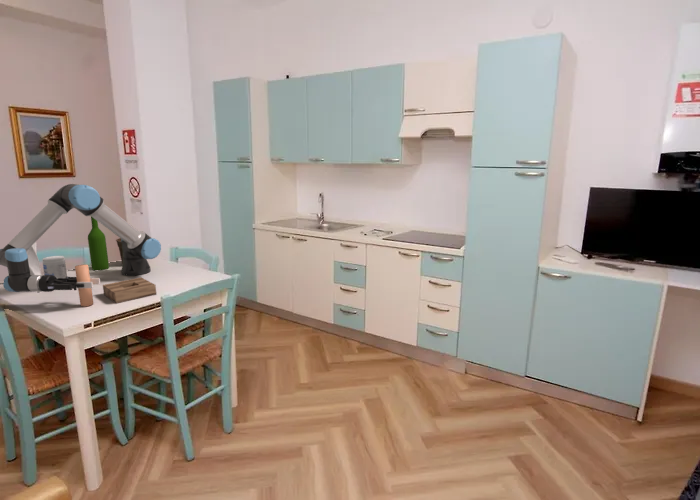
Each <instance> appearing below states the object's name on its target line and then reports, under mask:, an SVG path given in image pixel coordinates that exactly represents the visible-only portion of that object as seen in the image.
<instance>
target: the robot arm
mask: <svg viewBox="0 0 700 500" xmlns="http://www.w3.org/2000/svg"><path fill="white" fill-rule="evenodd" d="M73 209H75V210H76V211H78V212H80V214H81V215H84V216H85V217H91V216H92V217H93V218H94V219H96V220H97V222H98V223H100V224H101V225H102V226H103V227H105V228H106V229H107V230H109V231H110V232H111V233H112V234H114V235H116V236H117V237H118V239H119V238H121V243H122V251H123V259H124V262H123V265H122V267H121V275H123V276H125V277H126V276H129V277H130V276H133V277H134V276H140V275H145V274H148V273H150V272H151V266H150V264H149V262H148V260H154V259H155V258H157V257H158V256H159V255H160V253H161V252H162V251H161V250H162V244H161V243H160V241H159V240H158V239H157V238H153V237H151V236H150V235H149V234H148V233H146V232H145V231H139V230H138V229H136V228H135V227H134V226H132V225H131V224H130V223H129V222H128V221H127V220H126V219H124V218H122V216H121V215H119V214H118V213H117V212H116V211H114V210H112V209H111V208H110V207H109V206H108V205H106V204H105V200H104V198H103V197H102V196H100V194H99V191H97V189H95V188H94V187H92V186H90V185H87V184H77V183H75V184H74V183H69V184H66V185H63V186H62V187H60V188H59V189H58V190H56V192H55V193H54V194H53V195H52V196H51V197H50V198H49V199H48V200H47V204H46V205H45V206H44V207H43V208H42V209H41V210H40V211H39V212H38V213H37V214H36V215H35V216H34V217H33V218H32V219H31V220H30V221H29V222H28V224H26V225H25V227H24V226H23V227H24V228H22V230H20V231H19V232H18V233H17V234H16V235H15V236H14V238H12V239H11V241H9V242H8V243H7V245H5V246H4V247H3V248H0V266H3V267H5V268H7V272H8V275H7V276H5V277H4V279H3V283H2V287H3V288H4V289H5V290H6V291H7V292H12V293H13V292H14V293H32V292H33V293H34V292H35V293H36V292H37V294H38V293H40V292H44V293H51V292H54V291H78V288H91V289H93V288H94V285H101V279H100V277H92V278H91V277H90V282H77V278H76V276H68V275H67V277H66V278H58V279H57V278H56V277H55V276H54V275H44V274H41V275H30V269H29V263H28V255H27V252H26V251H27V250H28V249H29V248H30V247H31V246H32V245H33V244H34V243H35V242H37V241H38V240H39V239H40V238H41V237H42V236H43V235H44V234H45V233H46V232H47V231H48V230H49V229H50V228H51V227H52V226H53V225H54V224H55V223H56V222H57V221H58V220H59V219H60V218H61V216H63V215H65V214H68V213H69V211H71V210H73Z"/></svg>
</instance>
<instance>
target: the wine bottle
mask: <svg viewBox="0 0 700 500" xmlns="http://www.w3.org/2000/svg"><path fill="white" fill-rule="evenodd" d="M90 220H91V221H90V223H91V229H90V231H89V233H88V234H87V243H88V251H89V257H90V264H91V269H92V271H95V270H98V271H104V270H108V269H109V268H110V265H109V263H110V262H109V256H108V248H107V247H108V246H107V240H106V235H105V233H104V232H103V231H102V230H101V229H100V227H99V224H98V223H99V222H98V221H97V220H96V219H94V218H93V217H92V216H90Z"/></svg>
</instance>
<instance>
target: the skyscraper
mask: <svg viewBox="0 0 700 500" xmlns="http://www.w3.org/2000/svg"><path fill="white" fill-rule="evenodd" d="M37 245H38V244H37V241H36V242H35V243H34V244H33V245H32V246H31V247H30V248H29V249H28V250H27V251H26V252H27V255H28V263H29V269H30V275H42V269H41V265H40V260H39V257H38V255H37V254H38V253H37V251H38V246H37Z"/></svg>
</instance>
